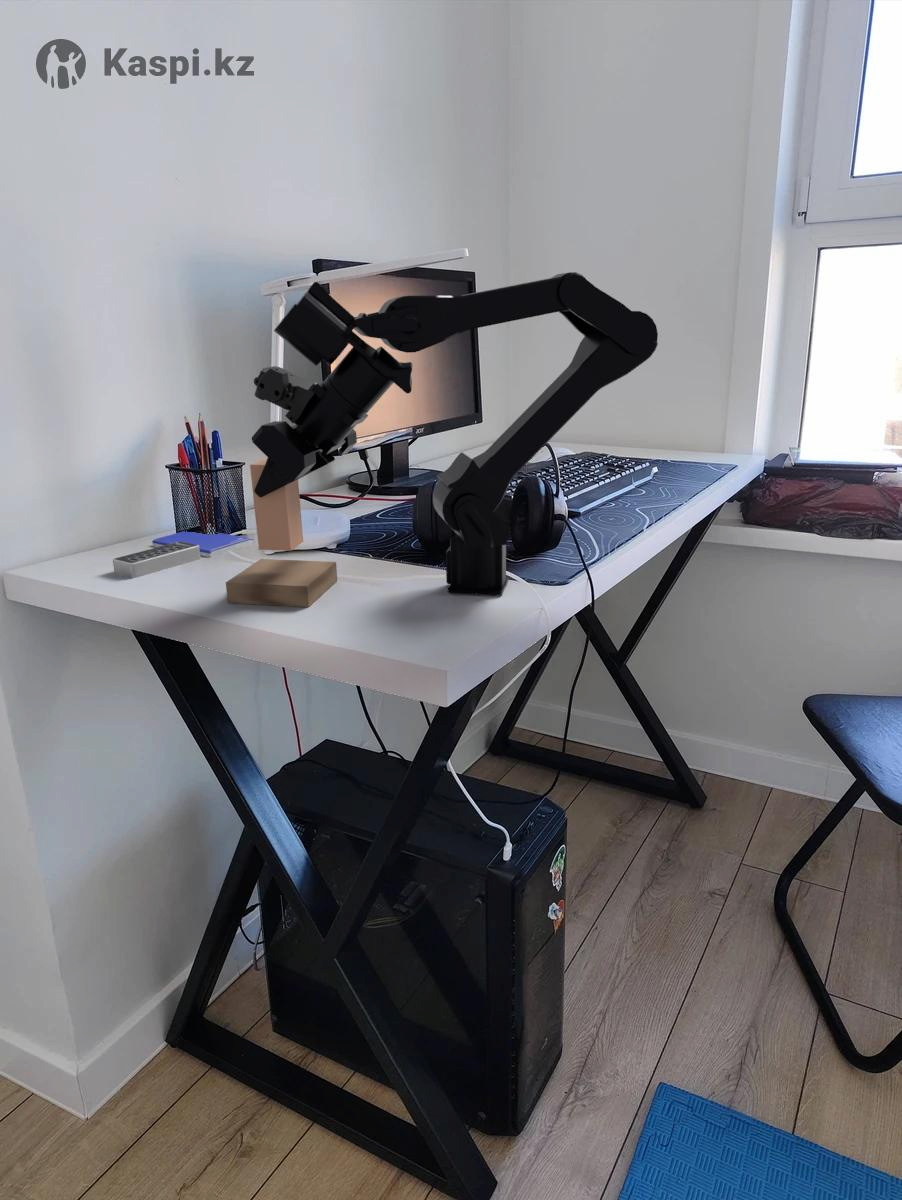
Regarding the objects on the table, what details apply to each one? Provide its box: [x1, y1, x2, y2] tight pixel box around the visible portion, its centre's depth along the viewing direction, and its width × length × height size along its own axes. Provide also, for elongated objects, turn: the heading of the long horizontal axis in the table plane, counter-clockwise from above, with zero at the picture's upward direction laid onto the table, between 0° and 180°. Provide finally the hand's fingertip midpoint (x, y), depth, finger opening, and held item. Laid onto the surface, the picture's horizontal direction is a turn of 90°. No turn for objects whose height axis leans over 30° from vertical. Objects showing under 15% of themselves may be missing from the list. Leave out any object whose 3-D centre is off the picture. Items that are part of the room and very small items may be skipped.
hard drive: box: [151, 530, 254, 558], centre depth 125 cm, size 2×8×12 cm
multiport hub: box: [112, 542, 202, 579], centre depth 115 cm, size 4×11×2 cm, turn 144°
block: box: [249, 458, 304, 552], centre depth 100 cm, size 4×4×10 cm
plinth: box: [225, 558, 338, 608], centre depth 103 cm, size 10×10×2 cm
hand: (265, 490), depth 100 cm, fingers closed on block, 4 cm apart
